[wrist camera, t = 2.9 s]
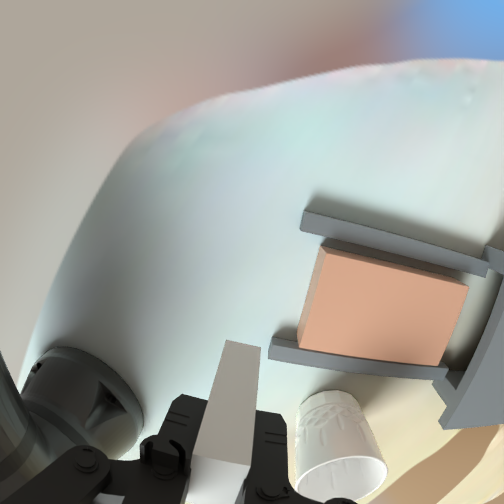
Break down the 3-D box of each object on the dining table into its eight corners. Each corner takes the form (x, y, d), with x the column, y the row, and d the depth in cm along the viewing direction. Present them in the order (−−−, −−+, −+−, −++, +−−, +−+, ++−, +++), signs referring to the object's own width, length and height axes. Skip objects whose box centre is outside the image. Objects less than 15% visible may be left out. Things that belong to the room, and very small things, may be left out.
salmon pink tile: (296, 331, 28) (299, 347, 25) (319, 245, 26) (326, 253, 23) (425, 351, 28) (437, 365, 25) (453, 277, 26) (469, 286, 23)
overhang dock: (259, 380, 29) (257, 417, 24) (313, 168, 25) (325, 164, 19) (490, 398, 29) (510, 422, 23) (549, 251, 25) (580, 262, 19)
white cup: (301, 380, 29) (311, 454, 19) (374, 387, 29) (403, 454, 19) (282, 434, 31) (284, 505, 21) (349, 439, 31) (365, 505, 21)
